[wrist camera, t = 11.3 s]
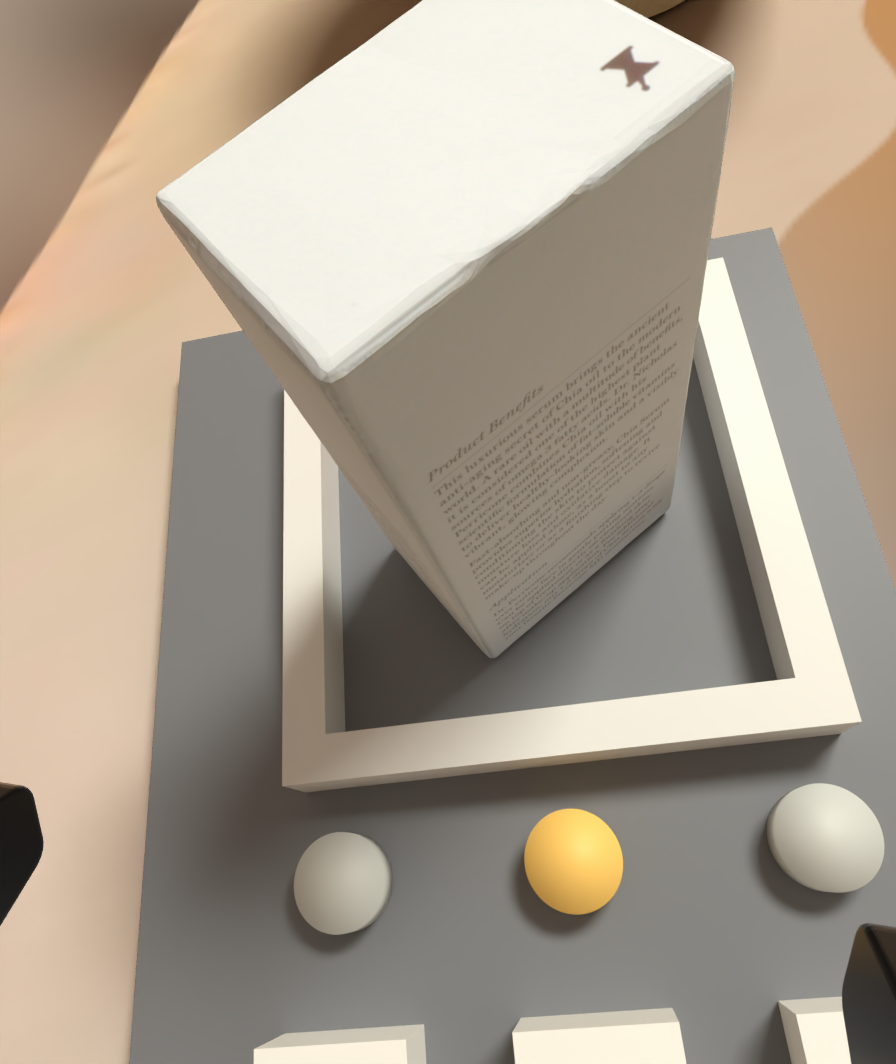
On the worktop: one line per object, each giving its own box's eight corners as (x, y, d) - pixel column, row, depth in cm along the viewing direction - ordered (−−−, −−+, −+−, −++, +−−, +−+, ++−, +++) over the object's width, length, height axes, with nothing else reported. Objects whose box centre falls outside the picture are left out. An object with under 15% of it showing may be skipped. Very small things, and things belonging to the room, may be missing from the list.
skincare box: (558, 407, 21) (508, -77, 10) (674, 510, 19) (760, 55, 9) (384, 549, 20) (136, 187, 10) (488, 669, 19) (326, 392, 8)
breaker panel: (1113, 1322, 13) (1231, 1426, 11) (141, 1334, 16) (53, 1422, 13) (764, 257, 23) (783, 182, 21) (199, 364, 26) (155, 309, 23)
